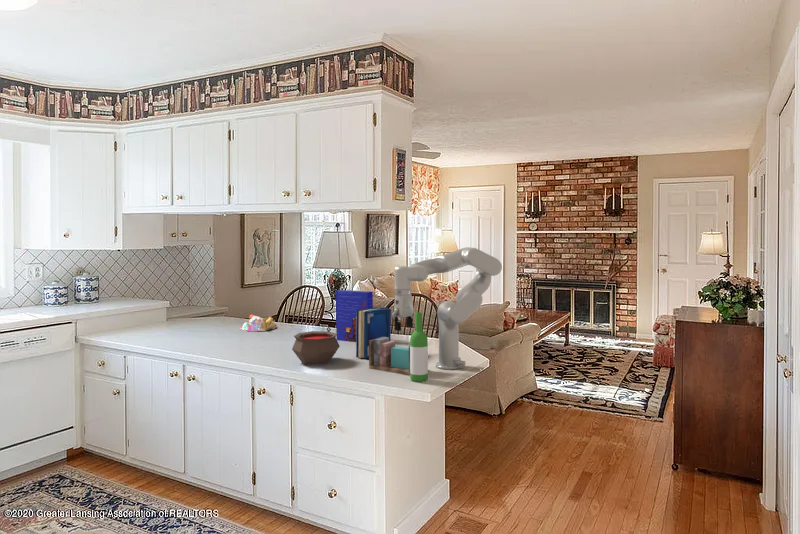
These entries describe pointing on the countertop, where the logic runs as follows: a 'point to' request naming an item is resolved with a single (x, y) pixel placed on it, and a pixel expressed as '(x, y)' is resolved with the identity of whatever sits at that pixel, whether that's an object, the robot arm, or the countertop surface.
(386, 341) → the shelf
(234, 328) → the countertop surface
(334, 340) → the brown bowl
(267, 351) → the countertop surface
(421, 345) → the wine bottle
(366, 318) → the book
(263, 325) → the candy landscape model
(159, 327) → the countertop surface
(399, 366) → the teal book
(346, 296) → the cereal box
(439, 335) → the robot arm
